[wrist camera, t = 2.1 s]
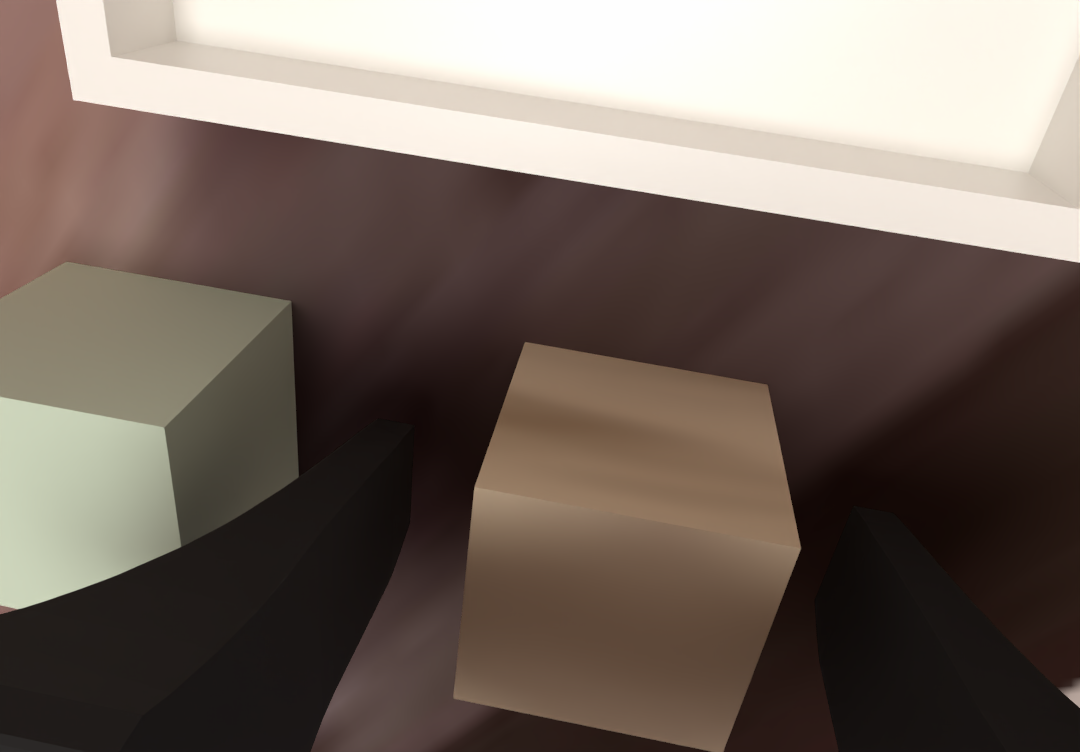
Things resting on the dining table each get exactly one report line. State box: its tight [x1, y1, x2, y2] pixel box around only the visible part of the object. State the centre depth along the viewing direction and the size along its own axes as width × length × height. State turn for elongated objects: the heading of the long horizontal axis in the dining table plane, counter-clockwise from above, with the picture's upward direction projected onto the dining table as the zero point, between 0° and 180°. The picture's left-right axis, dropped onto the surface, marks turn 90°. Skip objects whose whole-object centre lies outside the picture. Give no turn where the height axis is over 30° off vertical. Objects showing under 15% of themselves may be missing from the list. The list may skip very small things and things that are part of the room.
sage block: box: [0, 262, 299, 609], centre depth 13 cm, size 4×4×4 cm
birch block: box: [453, 342, 801, 752], centre depth 12 cm, size 4×4×4 cm
